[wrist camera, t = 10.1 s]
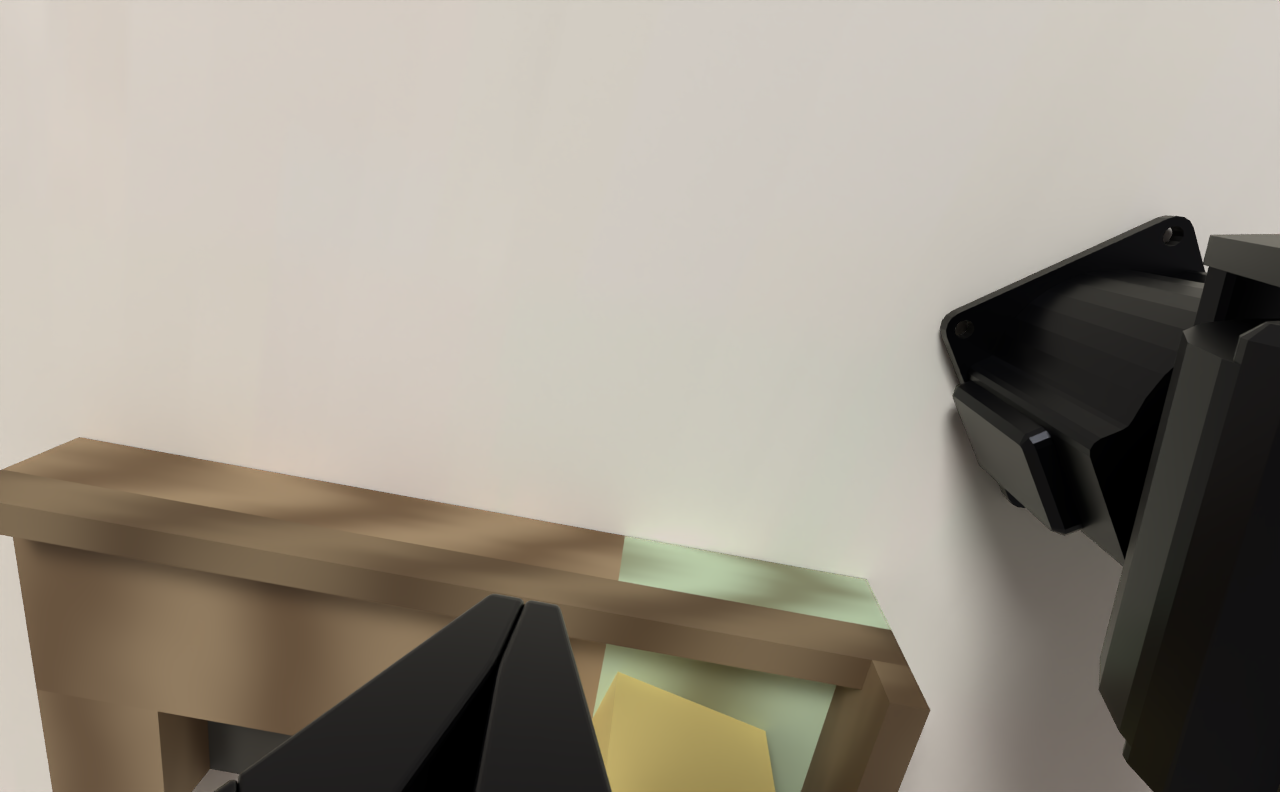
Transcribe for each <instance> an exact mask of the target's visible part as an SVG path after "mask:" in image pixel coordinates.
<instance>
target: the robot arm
mask: <svg viewBox="0 0 1280 792" xmlns="http://www.w3.org/2000/svg"><path fill="white" fill-rule="evenodd" d="M1169 228H1171V229H1172V237H1171V239H1170V240H1169V241H1168V242H1167V243H1164V242H1163V235H1164V233H1165V231H1166V230H1167V229H1169ZM1203 265H1206V266H1209V268H1208V272H1207V273H1206V272H1205V270H1204V266H1203ZM965 320H966V321H967V322H968V328H967V330H966V332H964V333H963V334H962V335H956V334H955V328H956V326H957V324H958V323H960V322H961V321H965ZM940 330H941V335H942V338H943V340H944V343H945V346H946V348H947V351H948V353H949V356H950V359H951V361H952V364H953V366H954V369H955V372H956V374H957V377H958V379H959V382H960V385H958V386H956V388H955V391H954V393H953V399H954V402H955V404H956V407H957V409H958V412H959V414H960V417H961V419H962V422H963V425H964V427H965V430H966V432H967V435H968V437H969V440H970V442H971V445H972V448H973V450H974V453H975V455H976V458H977V460H978V463H979V465H980V466H981V467H982V468H983V469H984V470H985V471H986V472H987V473H988V474H989V475H991V476H992V477H993V478H994V479H995V480H996V481H997V482H998V483H999V486H1000V488H1001V491H1002V493H1003V495H1004V496H1005V498H1006V499H1007V500H1008V501H1010V502H1011V503H1012V504H1013V505H1015V506H1017V507H1022V508H1025V507H1026V508H1027V509H1028V510H1029V511H1030V512H1031V513H1032V514H1033V515H1034V516H1035V517H1037V518H1038V519H1039V520H1040V521H1041V522H1042V523H1043V524H1044V525H1045V526H1046V527H1047V528H1049V529H1050V530H1051V531H1053V532H1056V533H1059V534H1062V535H1064V536H1065V535H1067V534H1070V533H1073V532H1075V531H1078V530H1081V531H1082V532H1083V533H1084V534H1086V535H1087V536H1088V537H1089V538H1090V539H1091V540H1093V541H1094V542H1095V543H1096V544H1097V545H1099V546H1100V547H1101V548H1102V549H1103V550H1104V551H1106V552H1107V553H1108V554H1109V555H1110V556H1111V557H1113V558H1114V559H1115V560H1116V561H1117V562H1119V563H1120V564H1121V565H1122V566H1123V570H1122V574H1121V578H1120V581H1119V585H1118V589H1117V593H1116V597H1115V601H1114V605H1113V609H1112V613H1111V617H1110V621H1109V625H1108V629H1107V633H1106V637H1105V641H1104V645H1103V649H1102V653H1101V657H1100V671H1099V691H1100V693H1101V695H1102V697H1103V699H1104V701H1105V703H1106V705H1107V707H1108V709H1109V711H1110V713H1111V716H1112V718H1113V720H1114V722H1115V724H1116V726H1117V728H1118V730H1119V732H1120V733H1121V734H1122V735H1123V737H1124V738H1125V739H1126V741H1125V745H1124V748H1123V756H1124V758H1125V760H1126V762H1127V763H1128V765H1129V766H1130V767H1131V768H1132V769H1133V770H1134V771H1135V772H1136V773H1137V774H1138V775H1139V776H1140V778H1141V779H1142V780H1143V781H1144V782H1145V783H1146V784H1147V785H1148V786H1149V787H1150V788H1151V789H1152V791H1153V792H1280V234H1241V235H1210V238H1209V242H1208V246H1207V250H1206V254H1205V258H1204V262H1202V258H1201V254H1200V250H1199V247H1198V243H1197V239H1196V235H1195V231H1194V227H1193V225H1192V224H1191V222H1190V221H1189V220H1188V219H1186V218H1185V217H1179V216H1162V217H1158V218H1155V219H1153V220H1151V221H1149V222H1147V223H1144V224H1142V225H1140V226H1138V227H1136V228H1133V229H1131V230H1129V231H1127V232H1125V233H1122V234H1120V235H1118V236H1116V237H1114V238H1111V239H1109V240H1107V241H1105V242H1103V243H1100V244H1098V245H1096V246H1094V247H1092V248H1089V249H1087V250H1085V251H1083V252H1081V253H1078V254H1076V255H1074V256H1072V257H1070V258H1067V259H1065V260H1063V261H1061V262H1059V263H1056V264H1054V265H1052V266H1050V267H1048V268H1045V269H1043V270H1041V271H1039V272H1037V273H1034V274H1032V275H1030V276H1028V277H1026V278H1023V279H1021V280H1019V281H1017V282H1015V283H1012V284H1010V285H1008V286H1006V287H1004V288H1001V289H999V290H997V291H995V292H993V293H990V294H988V295H986V296H984V297H982V298H979V299H977V300H975V301H973V302H971V303H968V304H966V305H964V306H962V307H960V308H957V309H955V310H953V311H951V312H950V313H948V314H947V315H946V316H945V317H944V319H943V320H942V323H941V326H940ZM214 792H612V790H611V786H610V783H609V779H608V776H607V772H606V768H605V765H604V761H603V758H602V754H601V751H600V747H599V743H598V740H597V736H596V733H595V729H594V726H593V722H592V718H591V715H590V711H589V708H588V704H587V701H586V697H585V694H584V690H583V686H582V683H581V679H580V676H579V672H578V669H577V665H576V661H575V658H574V654H573V651H572V647H571V644H570V640H569V636H568V633H567V629H566V626H565V622H564V619H563V615H562V612H561V609H560V607H559V606H558V605H555V604H550V603H544V602H539V601H533V600H530V601H527V602H526V603H525V604H524V601H523V600H522V599H521V598H517V597H511V596H506V595H500V594H491V595H488V596H487V597H485V598H484V599H482V600H481V601H480V602H478V603H477V604H475V605H474V606H473V607H471V608H470V609H469V610H467V611H466V612H464V613H463V614H462V615H460V616H459V617H457V618H456V619H455V620H453V621H452V622H450V623H449V624H448V625H446V626H445V627H443V628H442V629H441V630H439V631H438V632H436V633H435V634H434V635H432V636H431V637H430V638H428V639H427V640H425V641H424V642H423V643H421V644H420V645H418V646H417V647H416V648H414V649H413V650H411V651H410V652H409V653H407V654H406V655H404V656H403V657H402V658H400V659H399V660H397V661H396V662H395V663H393V664H392V665H391V666H389V667H388V668H386V669H385V670H384V671H382V672H381V673H379V674H378V675H377V676H375V677H374V678H372V679H371V680H370V681H368V682H367V683H365V684H364V685H363V686H361V687H360V688H358V689H357V690H356V691H354V692H353V693H351V694H350V695H349V696H347V697H346V698H345V699H343V700H342V701H340V702H339V703H338V704H336V705H335V706H333V707H332V708H331V709H329V710H328V711H326V712H325V713H324V714H322V715H321V716H319V717H318V718H317V719H315V720H314V721H312V722H311V723H310V724H308V725H307V726H306V727H304V728H303V729H301V730H300V731H299V732H297V733H296V734H294V735H293V736H292V737H290V738H289V739H287V740H286V741H285V742H283V743H282V744H280V745H279V746H278V747H276V748H275V749H273V750H272V751H271V752H269V753H268V754H267V755H265V756H264V757H262V758H261V759H260V760H258V761H257V762H255V763H254V764H253V765H251V766H250V767H248V768H247V769H246V770H244V771H243V772H241V773H240V775H239V776H238V783H237V781H235V780H230V781H228V782H227V783H226V784H224V785H223V786H221V787H220V788H219V789H217V790H216V791H214Z"/></svg>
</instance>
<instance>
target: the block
mask: <svg viewBox="0 0 1280 792" xmlns="http://www.w3.org/2000/svg"><path fill="white" fill-rule="evenodd" d="M592 722H593V726H594V729H595V733H596V736H597V740H598V743H599V747H600V751H601V754H602V758H603V761H604V765H605V768H606V772H607V776H608V779H609V783H610V786H611V790H612V792H775V786H774V780H773V774H772V768H771V762H770V756H769V750H768V744H767V737H766V731H764V730H762V729H759V728H757V727H754V726H752V725H749V724H747V723H744V722H742V721H740V720H737V719H735V718H732V717H730V716H727V715H725V714H722V713H720V712H717V711H715V710H712V709H710V708H707V707H705V706H702V705H700V704H697V703H695V702H692V701H690V700H687V699H685V698H682V697H680V696H677V695H675V694H672V693H670V692H667V691H665V690H662V689H660V688H658V687H655V686H653V685H650V684H648V683H645V682H643V681H640V680H638V679H635V678H633V677H630V676H628V675H625V674H623V673H620V672H617V674H616V676H615V678H614V680H613V681H612V683H611V685H610V687H609V689H608V691H607V692H606V694H605V696H604V698H603V700H602V702H601V704H600V705H599V707H598V709H597V711H596V713H595V715H594V717H593V718H592Z"/></svg>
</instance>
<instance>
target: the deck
mask: <svg viewBox="0 0 1280 792" xmlns="http://www.w3.org/2000/svg"><path fill="white" fill-rule="evenodd" d="M0 535H6V536H11V537H13V541H14V547H15V553H16V560H17V566H18V573H19V579H20V585H21V592H22V598H23V605H24V611H25V617H26V624H27V630H28V637H29V643H30V649H31V656H32V662H33V668H34V675H35V681H36V688H37V694H38V700H39V707H40V713H41V720H42V726H43V732H44V739H45V745H46V752H47V758H48V764H49V771H50V777H51V784H52V790H53V792H192V791H193V789H194V788H195V787H196V786H197V784H198V783H199V782H200V781H201V779H202V778H203V777H204V776H205V774H206V773H207V772H208V771H209V769H215V770H220V771H226V772H231V773H237V774H240V773H241V772H243V771H244V770H246V769H247V768H248V767H250V766H251V765H253V764H254V763H255V762H257V761H258V760H260V759H261V758H262V757H264V756H265V755H267V754H268V753H269V752H271V751H272V750H273V749H275V748H276V747H278V746H279V745H280V744H282V743H283V742H285V741H286V740H287V739H289V738H290V737H292V736H293V735H294V734H296V733H297V732H299V731H300V730H301V729H303V728H304V727H306V726H307V725H308V724H310V723H311V722H312V721H314V720H315V719H317V718H318V717H319V716H321V715H322V714H324V713H325V712H326V711H328V710H329V709H331V708H332V707H333V706H335V705H336V704H338V703H339V702H340V701H342V700H343V699H345V698H346V697H347V696H349V695H350V694H351V693H353V692H354V691H356V690H357V689H358V688H360V687H361V686H363V685H364V684H365V683H367V682H368V681H370V680H371V679H372V678H374V677H375V676H377V675H378V674H379V673H381V672H382V671H384V670H385V669H386V668H388V667H389V666H391V665H392V664H393V663H395V662H396V661H397V660H399V659H400V658H402V657H403V656H404V655H406V654H407V653H409V652H410V651H411V650H413V649H414V648H416V647H417V646H418V645H420V644H421V643H423V642H424V641H425V640H427V639H428V638H430V637H431V636H432V635H434V634H435V633H436V632H438V631H439V630H441V629H442V628H443V627H445V626H446V625H448V624H449V623H450V622H452V621H453V620H455V619H456V618H457V617H459V616H460V615H462V614H463V613H464V612H466V611H467V610H469V609H470V608H471V607H473V606H474V605H475V604H477V603H478V602H480V601H481V600H482V599H484V598H485V597H487V596H488V595H491V594H500V595H506V596H511V597H517V598H521V599H522V600H523V601H524V604H525V603H526V602H527V601H530V600H533V601H539V602H544V603H550V604H555V605H558V606H559V607H560V609H561V612H562V615H563V619H564V622H565V626H566V629H567V633H568V636H569V640H570V644H571V647H572V651H573V654H574V658H575V661H576V665H577V669H578V672H579V676H580V679H581V683H582V686H583V690H584V694H585V697H586V701H587V704H588V708H589V711H590V715H591V718H593V717H594V715H595V713H596V711H597V709H598V707H599V705H600V704H601V702H602V700H603V698H604V696H605V694H606V692H607V691H608V689H609V687H610V685H611V683H612V681H613V680H614V678H615V676H616V674H617V672H620V673H623V674H625V675H628V676H630V677H633V678H635V679H638V680H640V681H643V682H645V683H648V684H650V685H653V686H655V687H658V688H660V689H662V690H665V691H667V692H670V693H672V694H675V695H677V696H680V697H682V698H685V699H687V700H690V701H692V702H695V703H697V704H700V705H702V706H705V707H707V708H710V709H712V710H715V711H717V712H720V713H722V714H725V715H727V716H730V717H732V718H735V719H737V720H740V721H742V722H744V723H747V724H749V725H752V726H754V727H757V728H759V729H762V730H764V731H766V737H767V744H768V750H769V756H770V762H771V768H772V774H773V780H774V786H775V792H898V790H899V787H900V785H901V782H902V780H903V777H904V775H905V772H906V770H907V767H908V765H909V762H910V760H911V757H912V755H913V752H914V750H915V747H916V745H917V742H918V740H919V737H920V735H921V732H922V730H923V727H924V725H925V722H926V720H927V717H928V715H929V712H930V709H929V707H928V705H927V703H926V700H925V698H924V696H923V694H922V692H921V690H920V688H919V686H918V684H917V682H916V680H915V678H914V676H913V674H912V672H911V670H910V668H909V666H908V663H907V661H906V659H905V657H904V655H903V653H902V651H901V649H900V647H899V645H898V643H897V641H896V639H895V637H894V635H893V633H892V631H891V629H890V627H889V624H888V622H887V620H886V618H885V616H884V614H883V612H882V610H881V608H880V606H879V604H878V602H877V600H876V598H875V596H874V594H873V592H872V590H871V587H870V585H869V583H868V581H867V580H866V579H860V578H855V577H849V576H844V575H838V574H833V573H827V572H822V571H816V570H811V569H805V568H800V567H794V566H788V565H783V564H777V563H772V562H766V561H761V560H755V559H750V558H744V557H739V556H733V555H728V554H722V553H716V552H711V551H705V550H700V549H694V548H689V547H683V546H678V545H672V544H667V543H661V542H656V541H650V540H645V539H639V538H633V537H628V536H622V535H617V534H611V533H606V532H600V531H595V530H589V529H584V528H578V527H573V526H567V525H562V524H556V523H550V522H545V521H539V520H534V519H528V518H523V517H517V516H512V515H506V514H501V513H495V512H490V511H484V510H478V509H473V508H467V507H462V506H456V505H451V504H445V503H440V502H434V501H429V500H423V499H418V498H412V497H407V496H401V495H395V494H390V493H384V492H379V491H373V490H368V489H362V488H357V487H351V486H346V485H340V484H335V483H329V482H323V481H318V480H312V479H307V478H301V477H296V476H290V475H285V474H279V473H274V472H268V471H263V470H257V469H252V468H246V467H240V466H235V465H229V464H224V463H218V462H213V461H207V460H202V459H196V458H191V457H185V456H180V455H174V454H168V453H163V452H157V451H152V450H146V449H141V448H135V447H130V446H124V445H119V444H113V443H108V442H102V441H97V440H91V439H85V438H80V437H79V438H76V439H74V440H72V441H69V442H67V443H65V444H62V445H60V446H57V447H55V448H53V449H50V450H48V451H45V452H43V453H41V454H38V455H36V456H33V457H31V458H29V459H26V460H24V461H21V462H19V463H17V464H14V465H12V466H10V467H7V468H5V469H2V470H0Z"/></svg>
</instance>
